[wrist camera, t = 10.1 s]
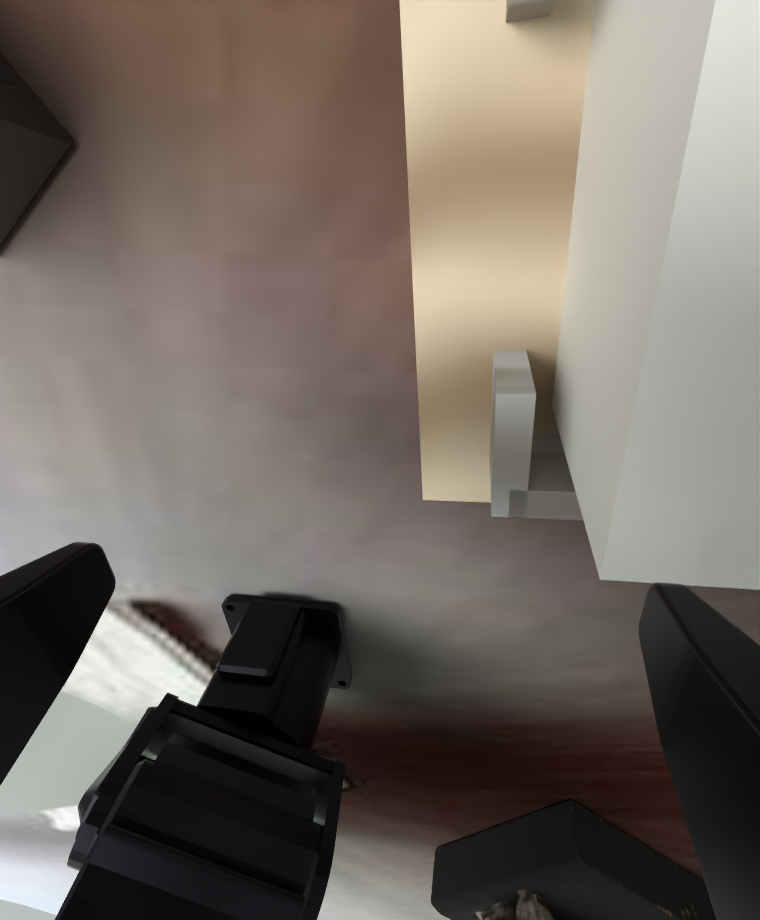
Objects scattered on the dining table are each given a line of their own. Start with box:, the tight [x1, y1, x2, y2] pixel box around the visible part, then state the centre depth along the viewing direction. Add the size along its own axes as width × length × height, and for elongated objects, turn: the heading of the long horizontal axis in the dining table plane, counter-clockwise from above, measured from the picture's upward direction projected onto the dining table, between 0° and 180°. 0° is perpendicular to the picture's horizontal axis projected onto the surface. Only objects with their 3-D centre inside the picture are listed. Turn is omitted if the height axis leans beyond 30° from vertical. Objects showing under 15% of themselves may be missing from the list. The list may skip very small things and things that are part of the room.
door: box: [552, 0, 760, 590], centre depth 10 cm, size 12×4×8 cm, turn 5°
